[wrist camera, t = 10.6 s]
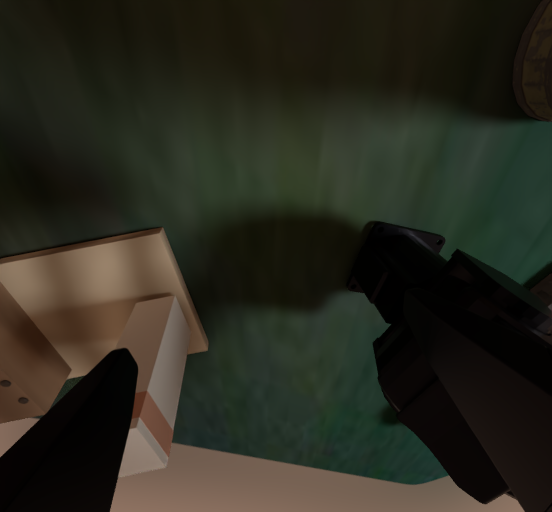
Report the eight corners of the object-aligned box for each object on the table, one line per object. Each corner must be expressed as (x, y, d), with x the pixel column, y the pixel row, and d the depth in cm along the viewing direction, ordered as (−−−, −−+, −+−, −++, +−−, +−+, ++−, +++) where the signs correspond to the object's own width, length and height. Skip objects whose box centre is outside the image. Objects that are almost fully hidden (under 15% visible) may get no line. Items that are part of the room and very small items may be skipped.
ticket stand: (162, 227, 21) (143, 264, 16) (208, 341, 27) (203, 391, 23) (-76, 273, 20) (-161, 324, 16) (26, 378, 27) (-15, 436, 22)
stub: (175, 294, 22) (136, 427, 13) (191, 332, 24) (166, 467, 16) (135, 302, 22) (71, 440, 13) (155, 339, 24) (110, 479, 15)
